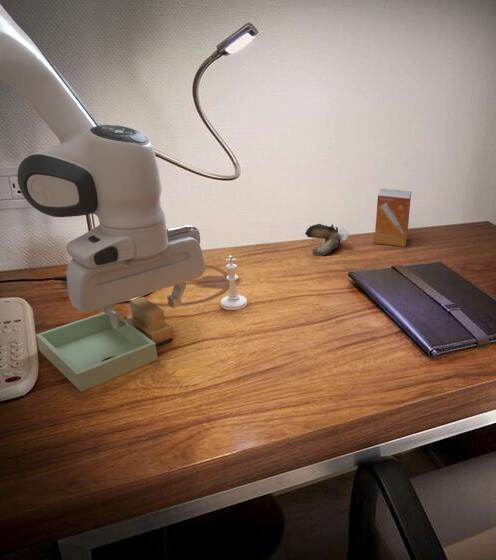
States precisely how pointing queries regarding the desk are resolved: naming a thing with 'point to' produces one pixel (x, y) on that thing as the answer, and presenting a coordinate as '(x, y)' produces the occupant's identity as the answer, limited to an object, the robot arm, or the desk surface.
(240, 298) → the chess piece
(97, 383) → the tray
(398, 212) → the small box
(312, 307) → the desk surface
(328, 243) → the grey brown curved piece
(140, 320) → the brush
